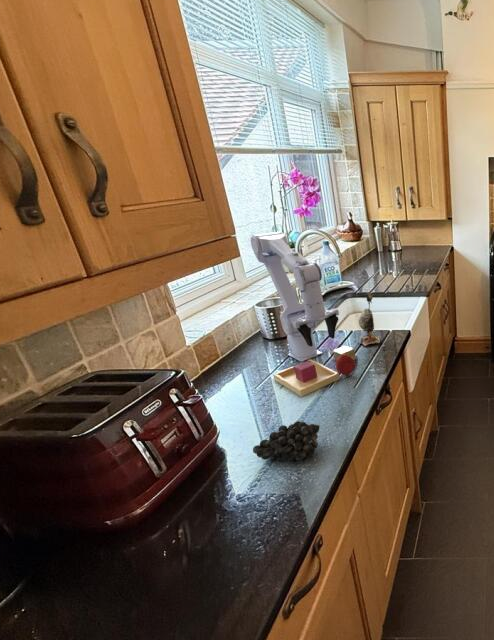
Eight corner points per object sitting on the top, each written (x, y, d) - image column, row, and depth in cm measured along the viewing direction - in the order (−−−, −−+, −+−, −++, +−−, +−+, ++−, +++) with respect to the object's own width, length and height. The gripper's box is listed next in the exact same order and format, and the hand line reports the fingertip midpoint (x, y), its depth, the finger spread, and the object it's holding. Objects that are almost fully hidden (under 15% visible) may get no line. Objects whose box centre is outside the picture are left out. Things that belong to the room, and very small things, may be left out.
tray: (274, 380, 127) (273, 374, 126) (312, 364, 136) (310, 359, 136) (301, 396, 118) (300, 390, 117) (339, 378, 127) (338, 373, 126)
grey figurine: (379, 333, 160) (372, 285, 152) (381, 345, 150) (374, 294, 142) (358, 336, 157) (350, 288, 150) (358, 348, 147) (350, 296, 140)
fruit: (240, 432, 87) (311, 425, 89) (259, 421, 96) (324, 414, 97) (244, 471, 88) (315, 463, 89) (263, 456, 96) (327, 449, 97)
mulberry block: (296, 378, 126) (293, 366, 125) (309, 373, 130) (307, 360, 128) (303, 382, 124) (300, 370, 122) (317, 377, 127) (314, 364, 125)
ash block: (334, 360, 139) (332, 350, 137) (347, 355, 142) (345, 345, 141) (343, 364, 136) (341, 354, 134) (355, 359, 140) (354, 348, 138)
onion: (359, 371, 131) (356, 349, 128) (352, 380, 126) (348, 357, 123) (342, 370, 132) (338, 348, 129) (334, 379, 126) (330, 357, 123)
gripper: (297, 311, 119) (306, 352, 124) (341, 298, 129) (347, 336, 134) (285, 306, 123) (294, 346, 128) (329, 294, 133) (336, 332, 138)
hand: (321, 341), depth 131 cm, fingers open, 7 cm apart
